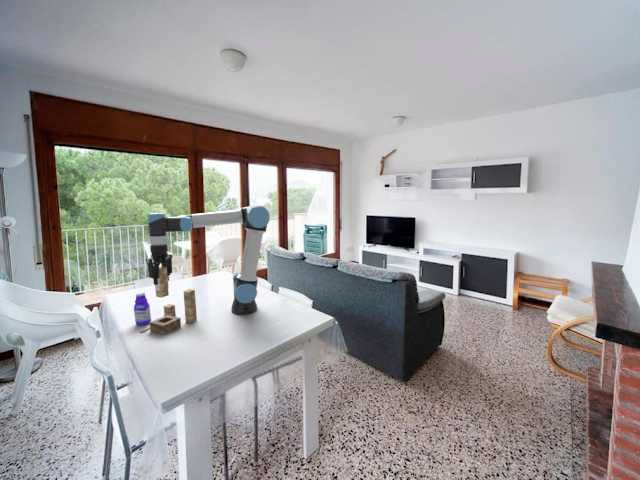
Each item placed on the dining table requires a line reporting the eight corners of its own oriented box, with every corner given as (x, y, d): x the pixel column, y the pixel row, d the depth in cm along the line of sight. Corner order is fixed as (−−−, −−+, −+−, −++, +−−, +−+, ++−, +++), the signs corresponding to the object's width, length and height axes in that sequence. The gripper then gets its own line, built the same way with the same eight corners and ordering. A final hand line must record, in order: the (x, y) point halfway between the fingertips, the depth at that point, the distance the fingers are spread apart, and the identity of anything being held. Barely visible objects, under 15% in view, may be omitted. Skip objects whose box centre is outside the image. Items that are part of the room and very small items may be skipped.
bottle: (134, 326, 152) (130, 295, 150) (137, 322, 158) (134, 291, 155) (149, 324, 154) (146, 294, 151) (152, 320, 159) (149, 290, 157)
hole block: (167, 323, 155) (166, 315, 155) (181, 326, 152) (180, 317, 151) (150, 331, 146) (149, 322, 146) (164, 335, 143) (163, 325, 142)
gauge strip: (165, 320, 159) (165, 320, 159) (167, 321, 159) (167, 320, 159) (140, 332, 146) (140, 331, 145) (142, 332, 145) (142, 332, 145)
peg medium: (163, 294, 149) (160, 266, 147) (168, 295, 147) (166, 266, 145) (156, 296, 145) (153, 267, 143) (161, 297, 144) (159, 268, 142)
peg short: (170, 315, 167) (169, 303, 166) (175, 316, 165) (174, 304, 164) (164, 318, 163) (163, 306, 162) (169, 319, 161) (168, 307, 160)
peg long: (191, 319, 161) (189, 288, 158) (196, 320, 159) (194, 289, 157) (185, 322, 157) (183, 291, 154) (191, 323, 156) (189, 292, 153)
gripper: (167, 241, 152) (170, 283, 155) (137, 246, 136) (141, 293, 139) (178, 242, 149) (181, 285, 152) (148, 247, 133) (152, 295, 136)
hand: (162, 289), depth 146 cm, fingers closed on peg medium, 4 cm apart
